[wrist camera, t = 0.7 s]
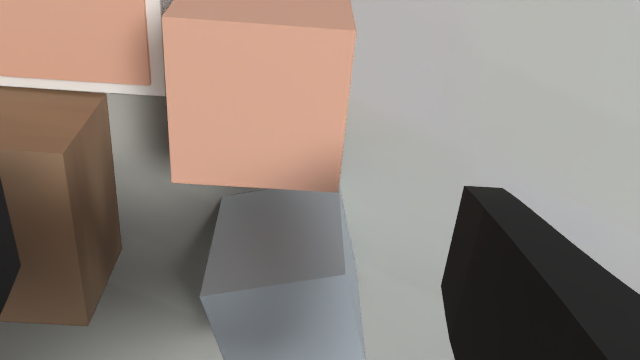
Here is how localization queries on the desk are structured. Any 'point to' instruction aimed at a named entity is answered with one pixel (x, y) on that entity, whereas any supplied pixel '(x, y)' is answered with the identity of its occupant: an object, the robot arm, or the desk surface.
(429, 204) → the desk surface
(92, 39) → the terracotta swatch tile
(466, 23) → the desk surface
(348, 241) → the slate grey block
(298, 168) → the terracotta block
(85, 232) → the walnut base block
